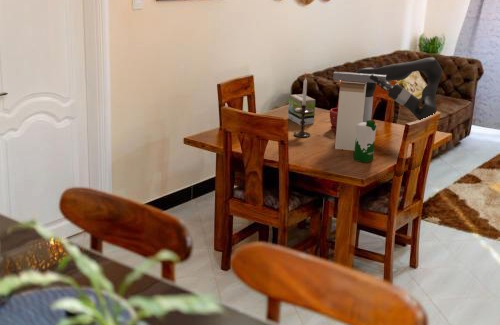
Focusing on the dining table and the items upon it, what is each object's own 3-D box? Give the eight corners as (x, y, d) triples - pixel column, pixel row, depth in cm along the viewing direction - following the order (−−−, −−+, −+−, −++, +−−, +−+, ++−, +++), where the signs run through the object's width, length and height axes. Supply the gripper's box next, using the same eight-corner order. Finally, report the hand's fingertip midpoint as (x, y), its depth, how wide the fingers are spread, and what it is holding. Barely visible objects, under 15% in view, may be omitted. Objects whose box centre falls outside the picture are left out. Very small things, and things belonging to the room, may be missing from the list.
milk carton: (366, 163, 329) (370, 124, 323) (350, 159, 335) (354, 120, 328) (375, 159, 336) (379, 120, 329) (359, 155, 341) (363, 117, 335)
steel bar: (385, 82, 342) (386, 75, 341) (385, 83, 339) (385, 76, 338) (333, 78, 347) (334, 71, 346) (333, 79, 344) (333, 72, 343)
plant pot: (351, 128, 390) (353, 107, 386) (352, 134, 378) (354, 113, 374) (328, 126, 391) (330, 106, 387) (328, 132, 379) (330, 112, 375)
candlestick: (301, 139, 365) (305, 74, 353) (287, 134, 373) (291, 71, 361) (315, 136, 371) (320, 72, 360) (302, 131, 379) (306, 69, 368)
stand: (361, 138, 371) (367, 77, 360) (358, 151, 349) (364, 86, 338) (339, 136, 373) (344, 75, 362) (334, 148, 351) (340, 84, 340)
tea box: (287, 118, 404) (288, 94, 400) (302, 117, 408) (303, 93, 404) (299, 125, 391) (300, 100, 387) (314, 124, 396) (316, 99, 391)
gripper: (403, 85, 346) (375, 66, 346) (403, 91, 333) (374, 71, 333) (395, 97, 349) (367, 78, 349) (394, 103, 336) (365, 84, 336)
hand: (370, 75), depth 341 cm, fingers closed on steel bar, 3 cm apart
